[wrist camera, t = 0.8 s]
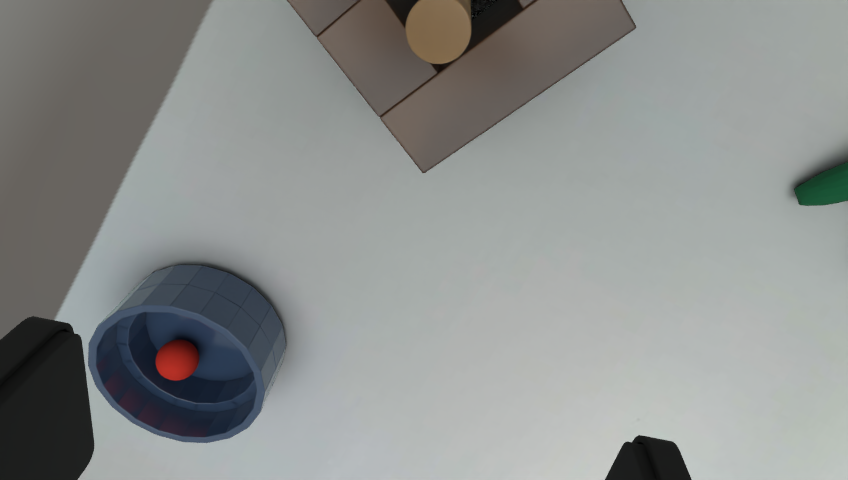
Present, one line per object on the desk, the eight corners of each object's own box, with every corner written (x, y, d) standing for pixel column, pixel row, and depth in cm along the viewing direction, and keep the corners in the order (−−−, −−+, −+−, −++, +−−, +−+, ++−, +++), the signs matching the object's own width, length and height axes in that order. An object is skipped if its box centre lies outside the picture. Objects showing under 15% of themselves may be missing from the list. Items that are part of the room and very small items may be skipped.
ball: (159, 343, 47) (139, 368, 44) (185, 325, 46) (166, 350, 43) (188, 368, 48) (170, 395, 45) (213, 351, 47) (197, 377, 44)
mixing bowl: (100, 311, 46) (52, 359, 41) (205, 231, 42) (167, 273, 37) (213, 409, 51) (183, 464, 45) (319, 346, 46) (300, 398, 41)
